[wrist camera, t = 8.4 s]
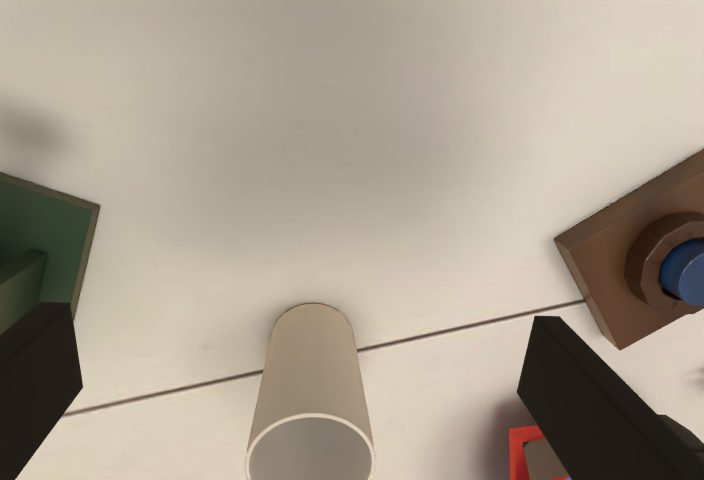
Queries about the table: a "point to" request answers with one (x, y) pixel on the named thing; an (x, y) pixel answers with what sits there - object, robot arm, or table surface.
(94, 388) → the table surface
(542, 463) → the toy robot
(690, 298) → the button
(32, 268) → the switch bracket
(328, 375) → the mug
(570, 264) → the button block
